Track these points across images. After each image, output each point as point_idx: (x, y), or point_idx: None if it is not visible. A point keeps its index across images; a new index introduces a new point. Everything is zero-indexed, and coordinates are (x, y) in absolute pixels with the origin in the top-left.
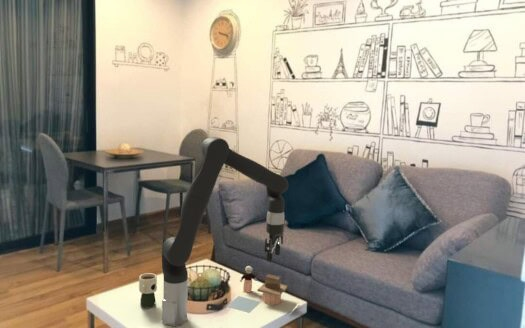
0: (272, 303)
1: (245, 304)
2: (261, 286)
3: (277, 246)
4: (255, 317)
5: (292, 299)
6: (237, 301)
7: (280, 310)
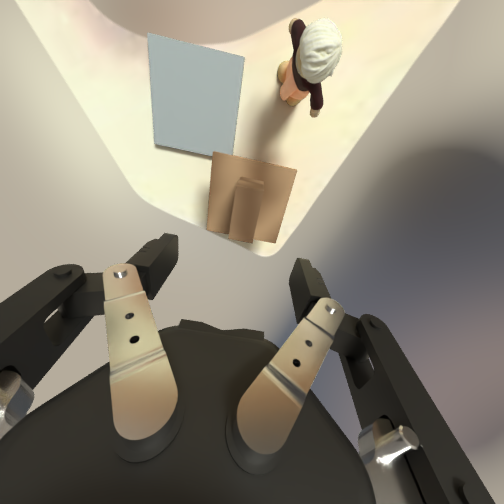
0: None
1: (193, 112)
2: (242, 160)
3: (308, 310)
4: (150, 166)
5: (278, 236)
6: (201, 70)
7: None
